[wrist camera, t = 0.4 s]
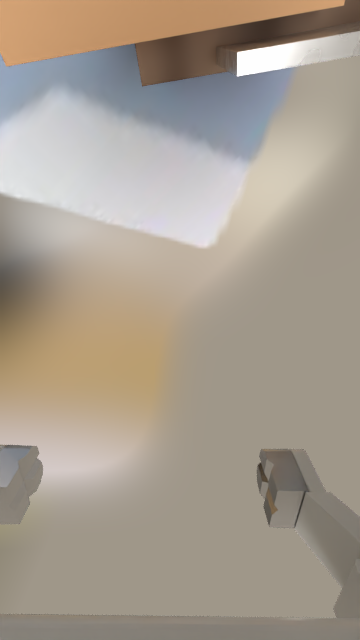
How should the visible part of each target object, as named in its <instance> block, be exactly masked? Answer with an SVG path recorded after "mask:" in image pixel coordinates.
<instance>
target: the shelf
mask: <svg viewBox="0 0 360 640" xmlns="http://www.w3.org/2000/svg"><path fill="white" fill-rule="evenodd" d="M354 22H360V0H345V3H344V6H338V7H333V8H327V9H322V10H316V11H311V12H305V13H300V14H294V15H289V16H283V17H277V18H272V19H266V20H261V21H255V22H250V23H244V24H239V25H233V26H228V27H222V28H217V29H211V30H206V31H200V32H194V33H189V34H183V35H178V36H172V37H167V38H161V39H156V40H150V41H145V42H139V43H135V47H136V53H137V59H138V65H139V70H140V76H141V82H142V86H147V85H153V84H158V83H164V82H170V81H176V80H182V79H187V78H193V77H199V76H205V75H211V74H216V73H222V72H228V71H227V70H225V69H223V68H221V67H219V66H218V65H217V62H216V47H219V46H224V45H230V44H236V43H241V42H247V41H253V40H258V39H264V38H270V37H275V36H281V35H286V34H292V33H298V32H303V31H309V30H315V29H320V28H326V27H332V26H337V25H343V24H349V23H354Z"/></svg>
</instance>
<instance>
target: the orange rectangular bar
mask: <svg viewBox="0 0 360 640" xmlns="http://www.w3.org/2000/svg"><path fill="white" fill-rule="evenodd" d="M344 3H345V0H0V53H1V55H2V57H3V60H4V62H5V64H6V66H12V65H17V64H23V63H28V62H34V61H39V60H45V59H51V58H56V57H62V56H67V55H73V54H78V53H84V52H89V51H95V50H100V49H106V48H111V47H117V46H122V45H128V44H134V43H139V42H145V41H150V40H156V39H161V38H167V37H172V36H178V35H183V34H189V33H194V32H200V31H206V30H211V29H217V28H222V27H228V26H233V25H239V24H244V23H250V22H255V21H261V20H266V19H272V18H277V17H283V16H289V15H294V14H300V13H305V12H311V11H316V10H322V9H327V8H333V7H338V6H344Z"/></svg>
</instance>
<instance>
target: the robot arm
mask: <svg viewBox="0 0 360 640" xmlns="http://www.w3.org/2000/svg"><path fill="white" fill-rule="evenodd" d="M38 454H39V451H38V448H37V446H22V445H0V524H20V523H21V520H22V518H23V516H24V515H25V513H26V511H27V509H28V507H29V505H30V501H29V496H30V495H32V494H33V493H34V492H35V491H36V490H37V489H38V486H39V484H40V482H41V478H42V474H43V466H42V462H41V461H40V460H38V459H37V456H38ZM259 457H260V460H261V463H259V464H258V466H257V483H258V488H259V492H260V494H261V495H262V496H263V497H264V498H265V502H264V510H265V514H266V517H267V521H268V524H269V527H276V528H295V531H296V532H297V533H298V535H299V536H300V537H301V538H302V540H303V541H304V542H305V543H306V545H307V546H308V547H309V548H310V550H311V551H312V552H313V553H314V554H315V555H316V557H317V558H318V559H319V561H320V562H321V563H322V564H323V565H324V567H325V568H326V569H327V570H328V572H329V573H330V574H331V575H332V577H333V578H334V579H335V580H336V581H337V583H338V584H339V585H340V586H341V588H342V590H341V592H340V595H339V597H338V599H337V601H336V603H335V605H334V608H333V610H334V612H335V615H336V618H300V617H221V616H220V617H219V616H138V615H58V614H56V615H55V614H0V640H360V517H359V516H358V515H357V514H356V513H355V512H354V511H352V510H351V509H350V508H349V507H348V506H346V505H345V504H344V503H343V502H342V501H340V500H339V499H338V498H337V497H336V496H334V495H333V494H332V493H330V492H326V490H325V488H324V486H323V484H322V482H321V480H320V478H319V476H318V474H317V473H316V471H315V468H314V467H313V465H312V463H311V461H310V459H309V457H308V455H307V453H306V451H305V450H304V449H261V451H260V455H259Z"/></svg>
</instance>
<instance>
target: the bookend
mask: <svg viewBox="0 0 360 640" xmlns="http://www.w3.org/2000/svg"><path fill="white" fill-rule="evenodd" d="M359 55H360V22H354V23H349V24H343V25H337V26H332V27H326V28H320V29H315V30H309V31H303V32H298V33H292V34H286V35H281V36H275V37H270V38H264V39H258V40H253V41H247V42H241V43H236V44H230V45H224V46H219V47H216V62H217V65H218V66H219V67H221V68H223V69H225V70H227V71H228V72H230V73H232V74H234V75H236V76H242V75H248V74H254V73H260V72H266V71H271V70H277V69H283V68H289V67H295V66H301V65H306V64H312V63H318V62H324V61H330V60H335V59H342V58H347V57H353V56H359Z"/></svg>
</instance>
